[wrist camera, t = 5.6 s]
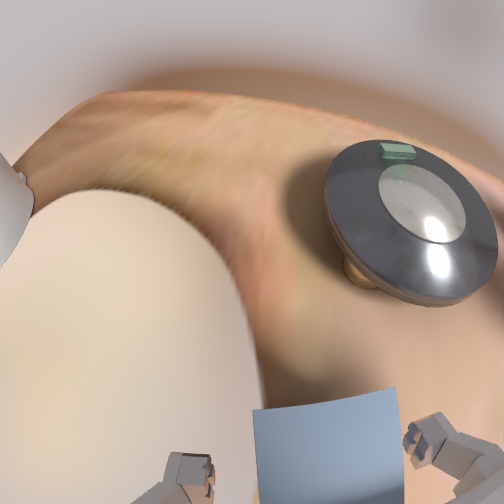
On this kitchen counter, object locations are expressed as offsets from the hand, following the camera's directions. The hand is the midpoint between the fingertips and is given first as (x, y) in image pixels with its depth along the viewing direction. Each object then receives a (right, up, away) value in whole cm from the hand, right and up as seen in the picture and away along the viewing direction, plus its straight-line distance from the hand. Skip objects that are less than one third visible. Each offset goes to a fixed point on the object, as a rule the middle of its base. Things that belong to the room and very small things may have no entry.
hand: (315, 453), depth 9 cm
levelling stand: (+9, +9, +11) cm, 17 cm away
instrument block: (0, -3, +4) cm, 5 cm away
